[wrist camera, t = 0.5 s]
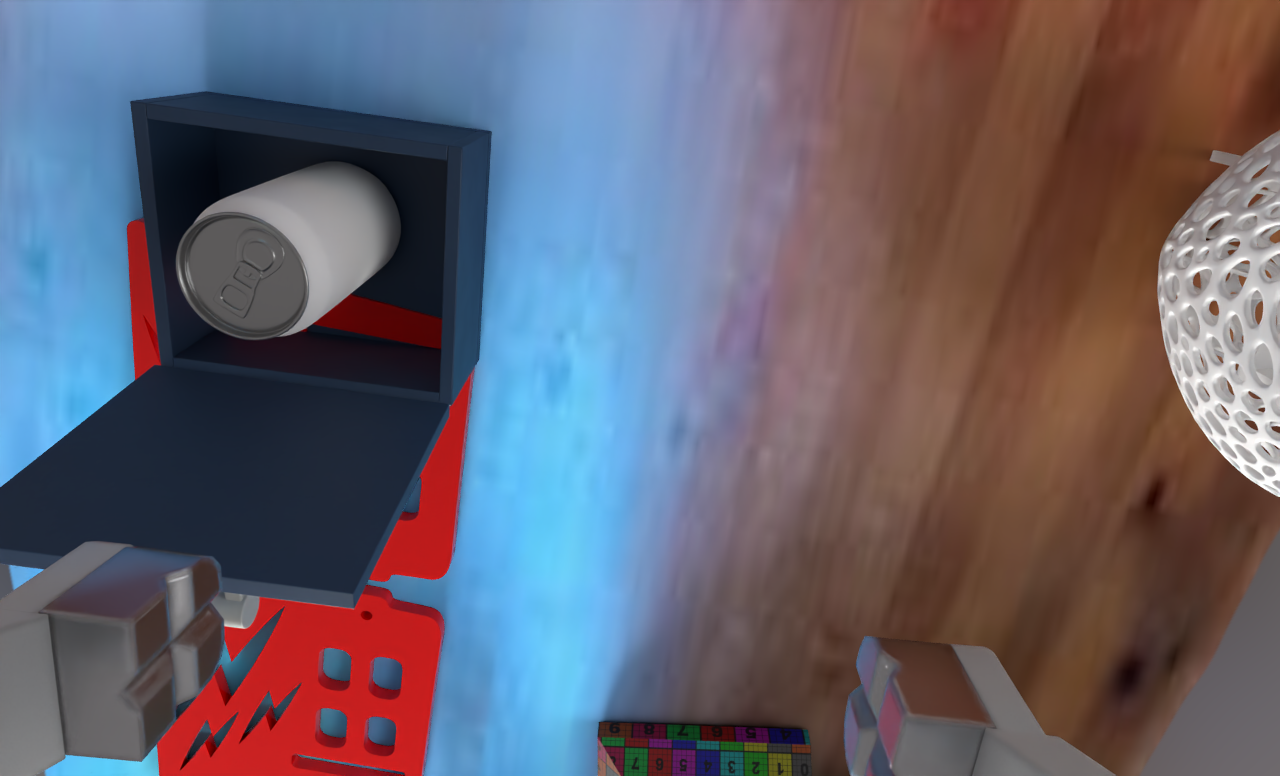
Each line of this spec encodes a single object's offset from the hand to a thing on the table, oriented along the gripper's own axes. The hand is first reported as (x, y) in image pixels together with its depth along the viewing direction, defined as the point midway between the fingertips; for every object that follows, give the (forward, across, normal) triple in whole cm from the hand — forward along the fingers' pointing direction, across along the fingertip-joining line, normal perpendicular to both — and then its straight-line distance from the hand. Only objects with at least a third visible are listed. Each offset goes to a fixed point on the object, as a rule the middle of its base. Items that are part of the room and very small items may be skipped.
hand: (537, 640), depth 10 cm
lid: (+24, +17, +10) cm, 31 cm away
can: (+37, +17, 0) cm, 40 cm away
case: (+37, +17, +1) cm, 41 cm away
